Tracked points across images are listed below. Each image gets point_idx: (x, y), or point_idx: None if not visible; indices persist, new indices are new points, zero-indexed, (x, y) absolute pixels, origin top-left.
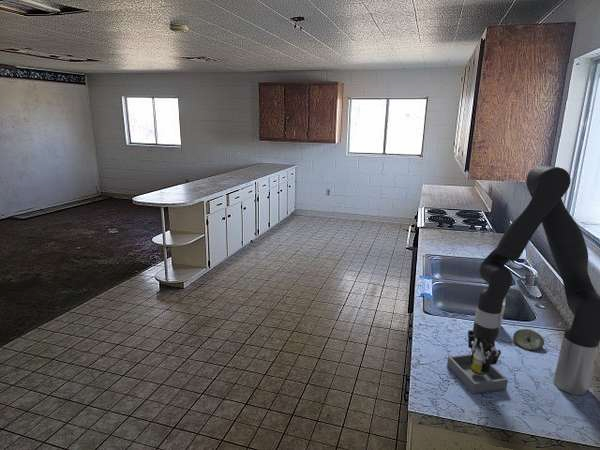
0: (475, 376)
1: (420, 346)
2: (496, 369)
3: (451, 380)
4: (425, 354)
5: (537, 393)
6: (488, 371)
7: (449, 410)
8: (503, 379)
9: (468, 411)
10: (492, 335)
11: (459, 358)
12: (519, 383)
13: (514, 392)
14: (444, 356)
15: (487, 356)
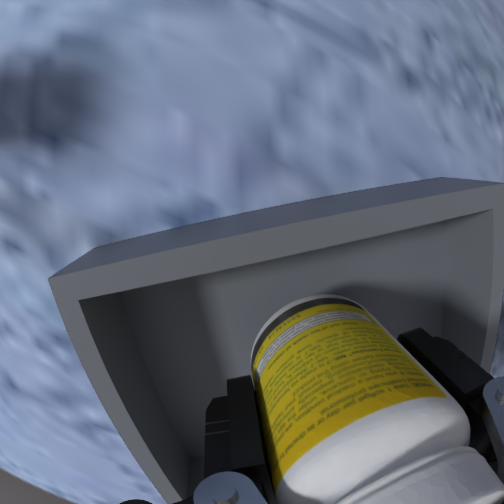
0: None
1: (33, 478)
2: (383, 208)
3: None
4: (91, 491)
5: (443, 4)
6: (440, 340)
7: None
8: (500, 223)
9: None
10: None
11: (162, 454)
12: (367, 29)
13: (455, 131)
14: (74, 430)
15: (452, 435)
